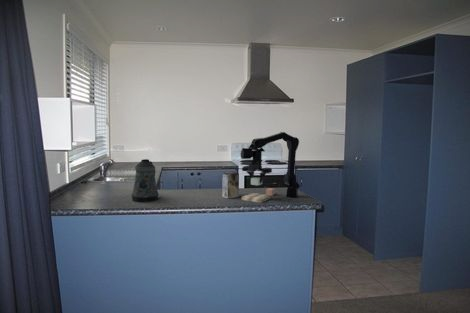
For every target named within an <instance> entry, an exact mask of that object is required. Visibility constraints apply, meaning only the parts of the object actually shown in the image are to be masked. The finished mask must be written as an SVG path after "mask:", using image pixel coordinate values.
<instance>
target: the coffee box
mask: <svg viewBox="0 0 470 313" xmlns="http://www.w3.org/2000/svg"><path fill="white" fill-rule="evenodd" d="M221 175H222V190H221V191H222V198H225V199H232V198H238V197H240V195H239V194H240V193H239V191H240V189H239V188H240V186H239V184H240V182H239V181H240V180H239V179H240V177H239V176H240V174H239V172H235V171H229V172H222V173H221Z"/></svg>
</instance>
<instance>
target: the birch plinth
mask: <svg viewBox="0 0 470 313" xmlns="http://www.w3.org/2000/svg"><path fill="white" fill-rule="evenodd" d="M240 199H241V201H248V202H252V203H253V202H254V203H260V204H262V203H263V202H266V201H268V200H270V199H272V197H271V195H266V194H263V193H256V192H249V193H247V194H245V195H243V196H241V198H240Z"/></svg>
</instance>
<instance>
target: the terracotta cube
mask: <svg viewBox="0 0 470 313" xmlns="http://www.w3.org/2000/svg"><path fill="white" fill-rule="evenodd" d="M274 194H275V188H269V187H268V188H265V195H271V196H272V197H273V196H274Z"/></svg>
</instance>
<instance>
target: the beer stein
mask: <svg viewBox="0 0 470 313" xmlns="http://www.w3.org/2000/svg"><path fill="white" fill-rule="evenodd" d="M134 169H135V177H134V184H133V188H132V191H131V199H132V201H133V202H137V203H149V202H155V201H157V200H158V199H159V198H158V197H159V191H158V188H157V183H156V166H155V165H154V164H153V162H152V161H150V159H147V158H146V159H143V158H142V159H141V161H140V162H138V163H137V164H136V165H135V166H134Z"/></svg>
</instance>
